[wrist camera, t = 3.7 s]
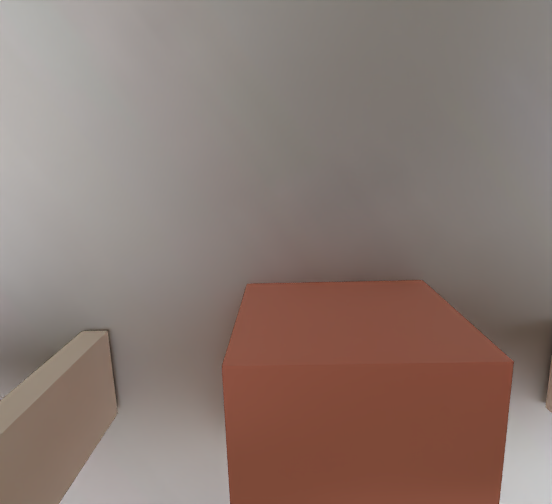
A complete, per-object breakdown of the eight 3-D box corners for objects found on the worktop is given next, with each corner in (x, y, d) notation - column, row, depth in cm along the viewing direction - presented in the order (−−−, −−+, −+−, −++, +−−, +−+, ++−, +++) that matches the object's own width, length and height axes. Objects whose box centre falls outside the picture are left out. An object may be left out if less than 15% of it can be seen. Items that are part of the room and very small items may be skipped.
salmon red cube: (247, 282, 12) (221, 366, 7) (421, 279, 12) (513, 361, 7) (254, 434, 13) (235, 595, 8) (413, 432, 13) (489, 595, 8)
